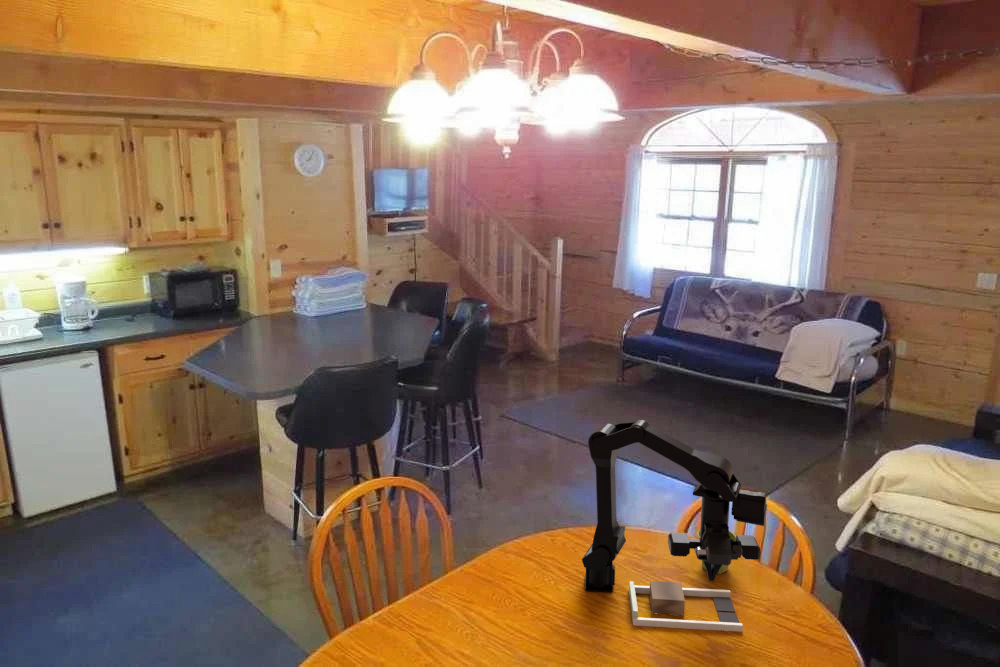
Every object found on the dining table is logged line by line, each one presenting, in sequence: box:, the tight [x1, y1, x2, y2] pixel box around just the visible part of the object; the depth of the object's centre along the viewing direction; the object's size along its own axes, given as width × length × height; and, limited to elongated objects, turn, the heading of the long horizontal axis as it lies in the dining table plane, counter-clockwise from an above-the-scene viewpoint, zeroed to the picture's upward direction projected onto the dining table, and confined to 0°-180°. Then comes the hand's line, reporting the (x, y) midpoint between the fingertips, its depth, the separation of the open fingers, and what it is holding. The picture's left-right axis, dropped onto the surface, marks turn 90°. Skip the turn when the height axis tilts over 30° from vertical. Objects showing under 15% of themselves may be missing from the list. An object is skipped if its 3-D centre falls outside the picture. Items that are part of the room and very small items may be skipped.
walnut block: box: [649, 580, 686, 616], centre depth 157 cm, size 7×7×4 cm
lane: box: [628, 581, 744, 633], centre depth 155 cm, size 23×13×3 cm, turn 84°
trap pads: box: [712, 597, 740, 623], centre depth 154 cm, size 4×11×1 cm, turn 174°
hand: (711, 580), depth 153 cm, fingers closed
